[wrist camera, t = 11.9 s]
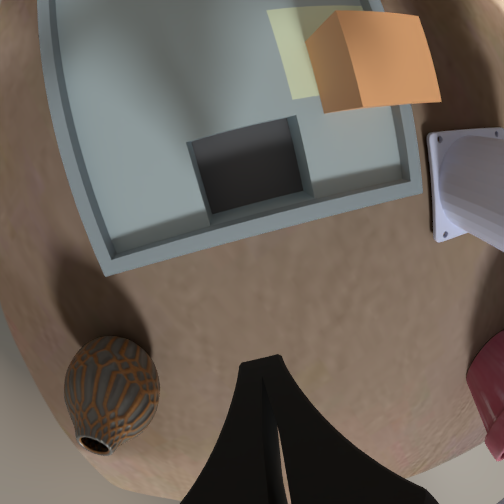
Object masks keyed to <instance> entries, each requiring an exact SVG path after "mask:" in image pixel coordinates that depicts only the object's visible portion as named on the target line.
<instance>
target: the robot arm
mask: <svg viewBox="0 0 504 504" xmlns="http://www.w3.org/2000/svg"><path fill="white" fill-rule="evenodd" d="M437 137H439V142H438V140H437ZM427 147H428V155H429V164H430V175H431V187H432V204H433V238H434V240H435V241H437V242H442V241H445V240H448V239H451V238H454V237H457V236H459V235H462V234H465V233H468V232H469V233H470V234H472V235H474V236H476V237H478V238H480V239H481V240H483V241H485V242H487V243H489V244H490V245H492V246H494V247H496V248H497V249H499V250H501V251H503V252H504V129H503V128H501V127H494V128H476V129H462V130H450V131H440V132H431V133H429V134H428V135H427ZM444 232H445V234H444V235H443V233H444ZM277 426H278V429H277ZM278 430H279V434H280V439H281V445H282V451H283V456H284V462H285V468H286V474H287V480H288V486H289V492H290V498H291V504H439V503H438V502H437V501H436V499H434V497H433V496H432V495H431V494H430V493H429V492H428V491H427V490H426V489H424V488H423V487H421V486H419V485H416V484H414V483H412V482H410V481H408V480H406V479H405V478H403V477H401V476H399V475H397V474H396V473H394V472H392V471H391V470H389V469H387V468H386V467H384V466H382V465H381V464H379V463H378V462H377V461H375V460H374V459H372V458H371V457H369V456H368V455H367V454H365V453H364V452H362V451H361V450H360V449H358V448H357V447H356V446H355V445H353V444H352V443H351V442H350V441H349V440H347V439H346V438H345V437H344V436H343V435H342V434H341V433H340V432H338V431H337V430H336V429H335V428H334V427H333V426H332V425H331V424H330V423H329V422H328V421H327V420H326V419H325V418H324V417H323V416H322V415H321V413H320V412H319V411H318V410H317V409H316V408H315V407H314V406H313V404H312V403H311V402H310V401H309V400H308V398H307V397H306V396H305V394H304V393H303V392H302V390H301V389H300V388H299V386H298V385H297V384H296V382H295V381H294V379H293V377H292V376H291V374H290V373H289V371H288V369H287V367H286V365H285V363H284V361H283V358H282V356H281V355H278V354H277V355H273V356H269V357H265V358H260V359H256V360H252V361H247V362H243V363H241V364H240V366H239V372H238V378H237V383H236V387H235V391H234V395H233V398H232V402H231V405H230V408H229V411H228V415H227V417H226V420H225V423H224V425H223V428H222V430H221V433H220V435H219V438H218V440H217V443H216V445H215V447H214V449H213V451H212V453H211V455H210V457H209V459H208V461H207V463H206V465H205V466H204V468H203V470H202V472H201V473H200V475H199V477H198V478H197V480H196V482H195V483H194V485H193V486H192V488H191V489H190V491H189V492H188V493H187V495H186V496H185V497H184V499H183V500H182V501H181V503H180V504H288V503H287V498H286V493H285V489H284V484H283V477H282V469H281V459H280V448H279V438H278ZM497 504H504V498H503V499H502V500H501V501H499V502H498V503H497Z"/></svg>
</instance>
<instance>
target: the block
mask: <svg viewBox="0 0 504 504" xmlns="http://www.w3.org/2000/svg"><path fill="white" fill-rule="evenodd" d="M305 44H306V47H307V50H308V54H309V57H310V61H311V64H312V68H313V72H314V75H315V79H316V83H317V87H318V91H319V95H320V99H321V103H322V107H323V112H324V114H326V113H332V112H339V111H347V110H355V109H363V108H372V107H383V106H394V105H404V104H416V103H431V102H442V101H441V96H440V91H439V86H438V82H437V77H436V73H435V69H434V65H433V61H432V58H431V54H430V50H429V47H428V44H427V40H426V37H425V34H424V31H423V28H422V25H421V22H420V19H419V16H414V15H407V14H398V13H388V12H375V11H352V10H335V11H334V12H333V13H332V14H331V15H330V16H329V17H328V18H327V19H326V20H325V21H324V22H323V23H322V24H321V26H320V27H319V28H318V29H317V30H316V31H315V32H314V33H313V34H312V35H311V36H310V37H309V38H308V39H307V40H306V41H305Z"/></svg>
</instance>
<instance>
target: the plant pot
mask: <svg viewBox="0 0 504 504" xmlns="http://www.w3.org/2000/svg"><path fill="white" fill-rule="evenodd" d="M466 381H467V384H468V386H469V389H470V391H471V393H472V396H473V399H474V401H475V404H476V406H477V409H478V411H479V414H480V416H481V419H482V421H483V424H484V426H485V429H486V431H487V435H486V437H485V444H486V446H487V447H488V449H489V450H490V452H491V454H492V455H493V456H494V458H495V459H496V461H501V460H503V459H504V330H503V331H501V332H499V333H498V334H496V335H495V336H494V337H492V338H491V339H490V340H489V341H488V342H487V343H486V345H485V346H484V347H483V348H482V349H481V350H480V352H479V353H478V354H477V356H476V357H475V359H474V360H473V362H472V364H471V366H470V368H469V370H468V373H467V377H466Z"/></svg>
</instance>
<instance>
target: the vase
mask: <svg viewBox="0 0 504 504" xmlns="http://www.w3.org/2000/svg"><path fill="white" fill-rule="evenodd" d="M159 395H160V383H159V377H158V373H157V370H156V367H155V365H154V363H153V361H152V359H151V358H150V357H149V355H148V354H147V353H146V352H145V351H144V350H143V349H142V348H141V347H140V346H138V345H137V344H135V343H134V342H132V341H130V340H128V339H125V338H121V337H117V336H105V337H99V338H96V339H94V340H92V341H90V342H88V343H87V344H86V345H84V346H83V347H82V348H81V349H80V350H79V351H78V352H77V353H76V355H75V356H74V358H73V359H72V361H71V363H70V365H69V367H68V369H67V372H66V376H65V382H64V398H65V403H66V406H67V409H68V412H69V415H70V417H71V420H72V422H73V425H74V428H75V435H76V440H77V442H78V443H79V444H80V445H81V446H82V447H83V448H85V449H86V450H88V451H90V452H92V453H95V454H98V455H103V456H107V455H111V454H112V453H113V452H114V451H115V450H116V449H117V448H118V447H119V446H120V445H122V444H124V443H126V442H128V441H129V440H131V439H133V438H135V437H136V436H138V435H139V434H141V433H142V432H143V431H144V430H145V429H146V428H147V426H148V425H149V424H150V422H151V421H152V419H153V417H154V415H155V413H156V410H157V407H158V402H159Z"/></svg>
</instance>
